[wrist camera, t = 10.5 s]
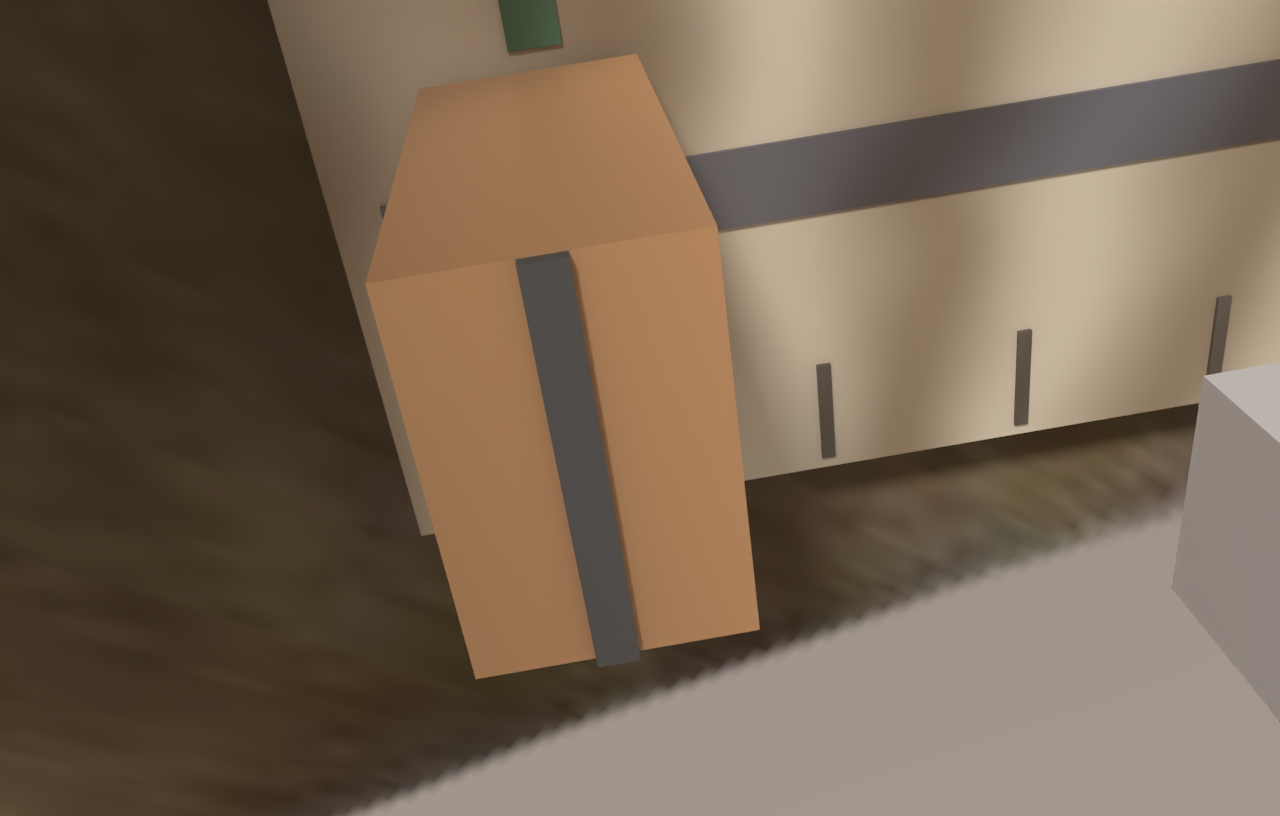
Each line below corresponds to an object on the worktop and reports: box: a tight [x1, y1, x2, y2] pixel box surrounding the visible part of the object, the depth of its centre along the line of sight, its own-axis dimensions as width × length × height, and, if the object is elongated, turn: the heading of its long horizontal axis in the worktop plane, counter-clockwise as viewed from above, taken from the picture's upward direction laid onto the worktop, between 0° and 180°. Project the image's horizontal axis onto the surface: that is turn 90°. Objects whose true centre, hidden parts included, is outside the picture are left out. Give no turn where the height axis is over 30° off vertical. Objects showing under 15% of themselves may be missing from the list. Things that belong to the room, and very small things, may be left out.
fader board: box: [267, 0, 1280, 536], centre depth 23 cm, size 23×14×2 cm, turn 98°
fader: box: [365, 54, 760, 679], centre depth 18 cm, size 4×6×9 cm, turn 8°
